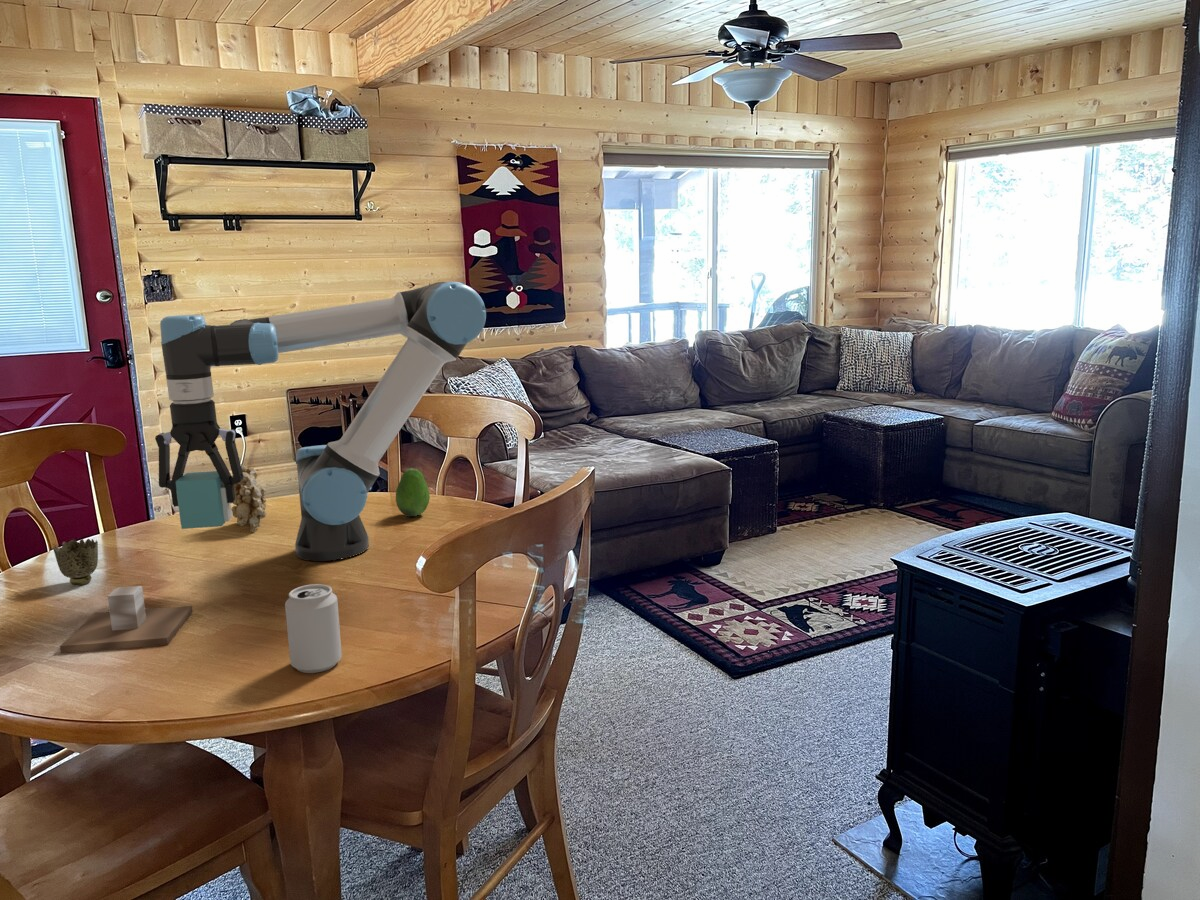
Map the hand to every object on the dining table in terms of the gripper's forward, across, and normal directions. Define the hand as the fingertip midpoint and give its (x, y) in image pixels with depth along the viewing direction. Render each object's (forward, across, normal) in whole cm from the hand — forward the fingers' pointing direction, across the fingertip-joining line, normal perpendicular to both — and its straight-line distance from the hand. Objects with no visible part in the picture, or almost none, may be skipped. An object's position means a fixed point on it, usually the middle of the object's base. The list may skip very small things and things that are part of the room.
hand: (206, 520), depth 165 cm
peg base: (+13, -8, -20) cm, 25 cm away
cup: (+13, -26, +7) cm, 30 cm away
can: (+13, +25, -39) cm, 48 cm away
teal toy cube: (0, 0, 0) cm, 0 cm away
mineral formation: (+13, -1, +40) cm, 42 cm away
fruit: (+14, +36, +42) cm, 57 cm away
